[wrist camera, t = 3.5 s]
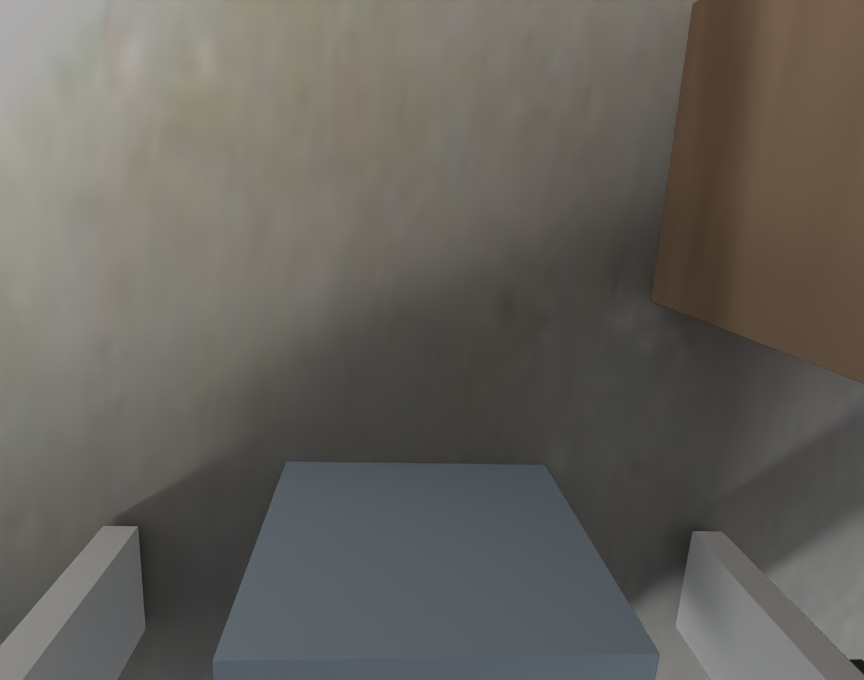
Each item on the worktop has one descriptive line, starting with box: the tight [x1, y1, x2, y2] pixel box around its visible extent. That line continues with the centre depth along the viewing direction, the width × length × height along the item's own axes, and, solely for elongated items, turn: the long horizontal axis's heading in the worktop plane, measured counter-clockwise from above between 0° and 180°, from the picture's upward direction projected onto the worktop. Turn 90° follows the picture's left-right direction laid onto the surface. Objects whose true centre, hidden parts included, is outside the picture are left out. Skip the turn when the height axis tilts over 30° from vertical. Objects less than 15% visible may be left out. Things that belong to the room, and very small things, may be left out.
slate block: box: [212, 461, 659, 680], centre depth 11 cm, size 6×6×6 cm
